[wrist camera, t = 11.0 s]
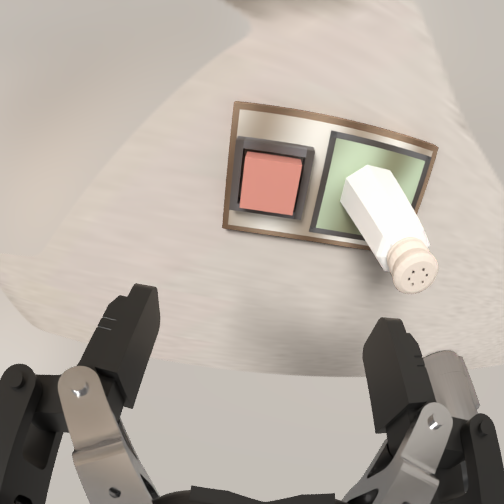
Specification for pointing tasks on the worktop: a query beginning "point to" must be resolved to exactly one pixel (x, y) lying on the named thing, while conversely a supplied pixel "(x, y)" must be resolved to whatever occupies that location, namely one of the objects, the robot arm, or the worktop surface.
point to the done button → (270, 183)
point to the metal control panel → (318, 169)
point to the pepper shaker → (390, 227)
